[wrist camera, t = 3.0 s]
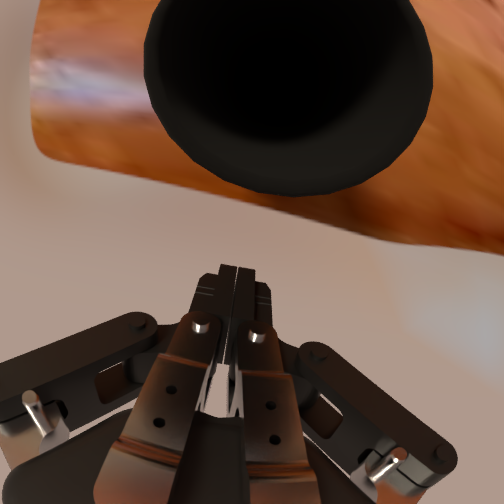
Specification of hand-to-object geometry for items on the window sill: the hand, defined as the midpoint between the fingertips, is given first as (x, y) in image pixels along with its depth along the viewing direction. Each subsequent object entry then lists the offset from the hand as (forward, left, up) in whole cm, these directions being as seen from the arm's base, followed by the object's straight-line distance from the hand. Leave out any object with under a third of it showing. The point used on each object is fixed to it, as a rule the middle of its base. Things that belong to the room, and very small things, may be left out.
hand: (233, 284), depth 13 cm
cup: (0, -9, -9) cm, 12 cm away
